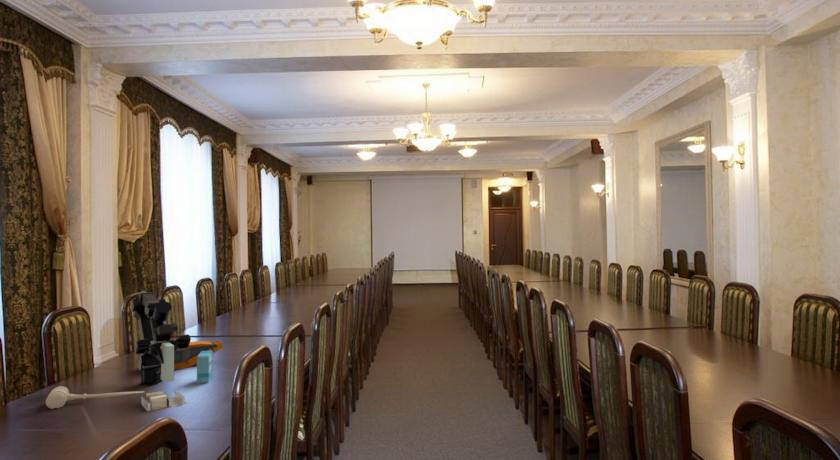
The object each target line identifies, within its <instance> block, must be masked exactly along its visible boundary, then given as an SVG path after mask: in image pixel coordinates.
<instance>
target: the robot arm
mask: <svg viewBox="0 0 840 460" xmlns="http://www.w3.org/2000/svg"><path fill="white" fill-rule="evenodd" d="M153 293H154V292H151V291H150V292H149V291H148V292H140V293H139V294H138V296H136V297H135V298H133V299H132V301H131V304H130V305H131V306H130V311H131V313H132V314H133V318H135V319H136V320H137V321H138V323H139V329H140V336H141V339H137V340H136V342H135V347H134V353H135V354H136V355H139V358H138V362H137V369H138V370H139V371H141V372H140V373H141V375H140V376H141V379H140V380H141V382H138V385H140V386H141V385H142V386H143V385H144V386H154V385H156V384H158V383H160V382H162V381H163V379H161V371H160V367H161V363H162V364H163V363H164V360H163V356H162V353H161V343H166V342H169V343H171V344H172V345H174V351H176V350H177V348H179V349H182V348H187V347H188V346H189V343H190V342H191V340H192V338H191V335H190V334H188V333H187V334H180V335H179V334H178V337H177V338H173V333H176V332H177V331H179V326H178V322H171V323H170V324H169V323H168V321H167V320H169V318H170V314H171V311H172V307H173V306H172V304H171V303H170V302H168V301H166V300H165V299H164V298H163V299H157V298H156V297H155V296H154V294H153ZM172 338H173V339H172ZM135 354H134V355H135Z"/></svg>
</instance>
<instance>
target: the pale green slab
mask: <svg viewBox="0 0 840 460" xmlns="http://www.w3.org/2000/svg"><path fill="white" fill-rule="evenodd" d="M161 353H162V356H163V360H164V363H163V364H162V363H161V371H160V372H161V373H160V379H161V380H162V381H163V380H164V382H166V383H169V382H174V380H175V369H174V345H172V344H171V343H169V342H166V343H161Z"/></svg>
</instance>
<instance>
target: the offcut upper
mask: <svg viewBox="0 0 840 460" xmlns="http://www.w3.org/2000/svg"><path fill="white" fill-rule="evenodd" d="M164 393H165V392H163V391H162V390H160V391H159V390H158V391H153V392H148V393H146V394H145V395H146V396H145V398H146V399H147V400H148V401H149V402H150V403H151V404H155V403H160V402H165V401H167V396H166V395H165V394H166V393H165V394H164Z"/></svg>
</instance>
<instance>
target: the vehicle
mask: <svg viewBox="0 0 840 460" xmlns="http://www.w3.org/2000/svg"><path fill="white" fill-rule="evenodd" d="M224 348H225V347H224V345H223V343H222V341H220V340H219V339H217V340H215V341H205V340H204V341H202V340H197V341H190V343H189V346H188V347H187V348H182V349H179V348H177V350H176V351H174V370H180V369H181V370H182V369H187V368H191V367H192V366H194V365H197V356H198V355H199V354H200V352H201V351H213V354H215V353H216V352H218V351H220V350H223V349H224ZM160 372H161V367H160Z"/></svg>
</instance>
